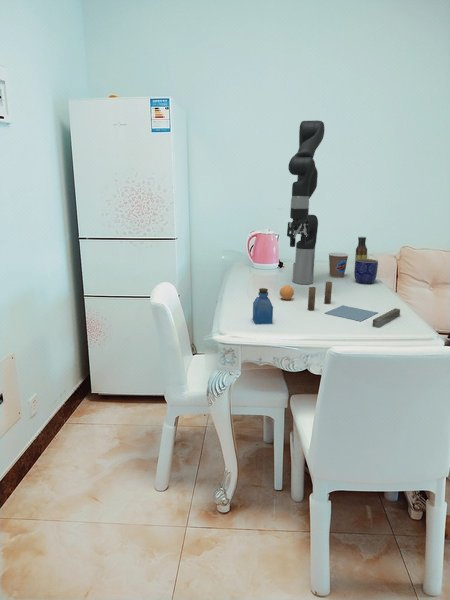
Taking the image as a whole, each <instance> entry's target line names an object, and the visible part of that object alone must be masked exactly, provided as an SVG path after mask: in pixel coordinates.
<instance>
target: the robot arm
mask: <svg viewBox="0 0 450 600" xmlns="http://www.w3.org/2000/svg"><path fill="white" fill-rule="evenodd" d="M298 130H299V131H298V133H299V134H298V139H299V140H298V145H299V146H298V150H297V152H296V153H295V154H294V155H293V156H292V157H291V159H290V160H289V163H288V171H289V173H290V174H291V175H293V176H297V179H296V180H297V181H294V182H292V185H291V199H290V211H289V212H290V213H289V214H290V219H292V221H288V222H287V231H286V232H287V233H286V236H287V237H289V247H290V248H295V258H294V259H295V261H294V262H293V265H292V266H293V267H292V283H294V284H297V285H298V284H299V285H312V284H313V283H314V272H315V271H314V270H315V258H316V256H315V255H316V245H317V239H318V237H317V236H318V228H319V220H318V217H317V215H315V214H309V210H310V198H311V197H312V195H314V192H315V191H316V189H317V186H318V169H317V167H316V162H315V160H314V156H315V153H316V150H317V149H318V148H319V146H320V145H321V144H322V141H323V139H324V136H325V123H324V121H322V120H303V121H301V122H300V125H299V129H298ZM297 235H300V240H298V241H296V240H297V238H296V237H297Z"/></svg>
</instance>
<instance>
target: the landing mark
mask: <svg viewBox="0 0 450 600" xmlns="http://www.w3.org/2000/svg"><path fill="white" fill-rule="evenodd" d="M324 314H325V315H330V316H334V317H338V318H342V319H346V320H347V319H348V320H353V321H356V322H360V323H361V322H363V321H365V320H367V319H369V318H371V317H373V316H375V315H377V314H379V312H377V311H373V310H368V309H363V308H358V307H353V306H348V305H344V304H343V305H340V306H338V307H335V308H333V309H331V310H328V311H325V312H324Z"/></svg>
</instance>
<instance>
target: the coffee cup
mask: <svg viewBox="0 0 450 600" xmlns="http://www.w3.org/2000/svg"><path fill="white" fill-rule="evenodd" d="M348 256H349V254H348V253H346V252H329V253H328V261H329V263H328V264H329V265H328V267H329V276H330V277H331V278H334V279H335V278H336V279H340V278H341V279H342V278H344V277H345V272H346V270H347V269H346V268H347V263H348Z"/></svg>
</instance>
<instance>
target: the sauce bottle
mask: <svg viewBox="0 0 450 600" xmlns="http://www.w3.org/2000/svg"><path fill="white" fill-rule="evenodd" d="M357 240H358V243H357V246H356V248H355V254H354V255H355V257H354V261H355V260H356V259H368V248H367V245H366V241H367V237H366V236H358V237H357Z"/></svg>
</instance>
